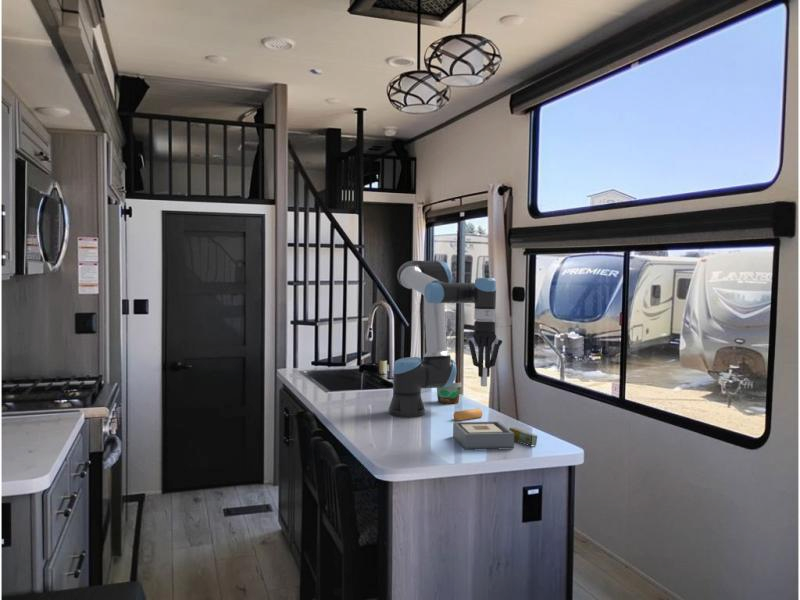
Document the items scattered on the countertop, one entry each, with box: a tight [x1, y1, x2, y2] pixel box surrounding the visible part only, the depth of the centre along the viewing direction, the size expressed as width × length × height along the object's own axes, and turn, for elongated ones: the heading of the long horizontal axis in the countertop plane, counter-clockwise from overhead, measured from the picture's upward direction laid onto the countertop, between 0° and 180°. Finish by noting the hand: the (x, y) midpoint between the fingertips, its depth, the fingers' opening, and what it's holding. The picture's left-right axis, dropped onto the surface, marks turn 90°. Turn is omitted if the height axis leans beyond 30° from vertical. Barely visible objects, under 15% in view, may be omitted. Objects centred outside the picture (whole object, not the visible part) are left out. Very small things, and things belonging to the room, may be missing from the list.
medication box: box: [508, 427, 538, 446], centre depth 226 cm, size 12×3×4 cm, turn 32°
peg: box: [453, 407, 483, 422], centre depth 260 cm, size 4×4×12 cm
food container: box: [436, 381, 463, 405], centre depth 288 cm, size 12×6×10 cm, turn 76°
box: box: [452, 420, 515, 451], centre depth 224 cm, size 17×17×6 cm
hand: (483, 385), depth 230 cm, fingers closed
